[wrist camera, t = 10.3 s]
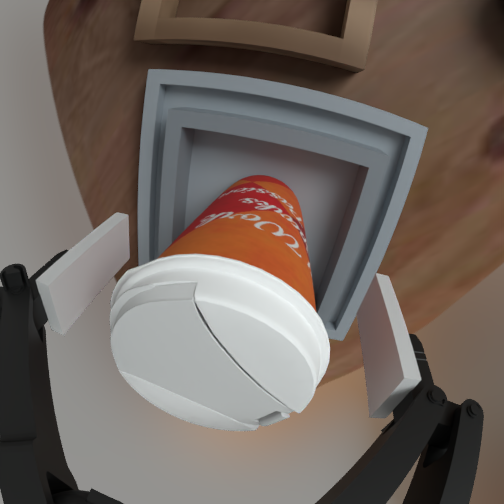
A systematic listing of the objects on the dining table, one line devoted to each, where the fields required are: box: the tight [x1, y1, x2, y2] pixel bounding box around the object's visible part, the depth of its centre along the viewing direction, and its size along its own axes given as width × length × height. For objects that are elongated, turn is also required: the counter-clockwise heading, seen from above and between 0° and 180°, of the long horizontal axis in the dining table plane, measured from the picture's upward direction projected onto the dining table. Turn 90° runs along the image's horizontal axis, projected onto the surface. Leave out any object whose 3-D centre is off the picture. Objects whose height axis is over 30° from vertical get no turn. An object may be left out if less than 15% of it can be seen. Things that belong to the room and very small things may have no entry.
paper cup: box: [110, 175, 330, 431], centre depth 15 cm, size 8×8×14 cm
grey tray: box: [138, 69, 428, 341], centre depth 20 cm, size 18×18×3 cm
